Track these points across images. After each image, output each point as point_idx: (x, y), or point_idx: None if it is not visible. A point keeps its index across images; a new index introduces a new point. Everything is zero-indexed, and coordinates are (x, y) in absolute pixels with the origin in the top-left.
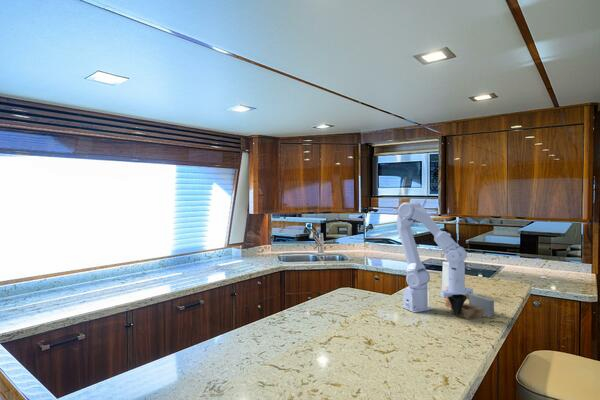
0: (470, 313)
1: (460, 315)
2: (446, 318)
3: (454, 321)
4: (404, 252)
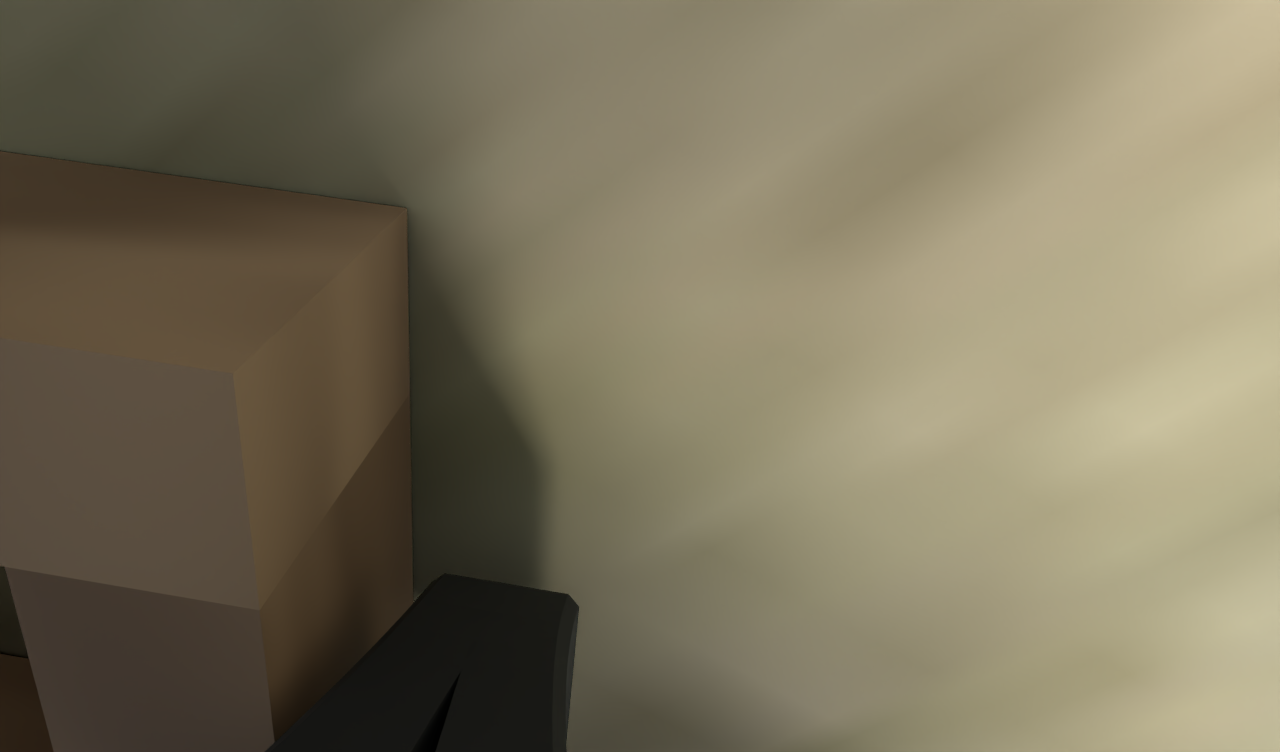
0: (92, 277)
1: (397, 559)
2: (1014, 687)
3: (1105, 361)
4: None
